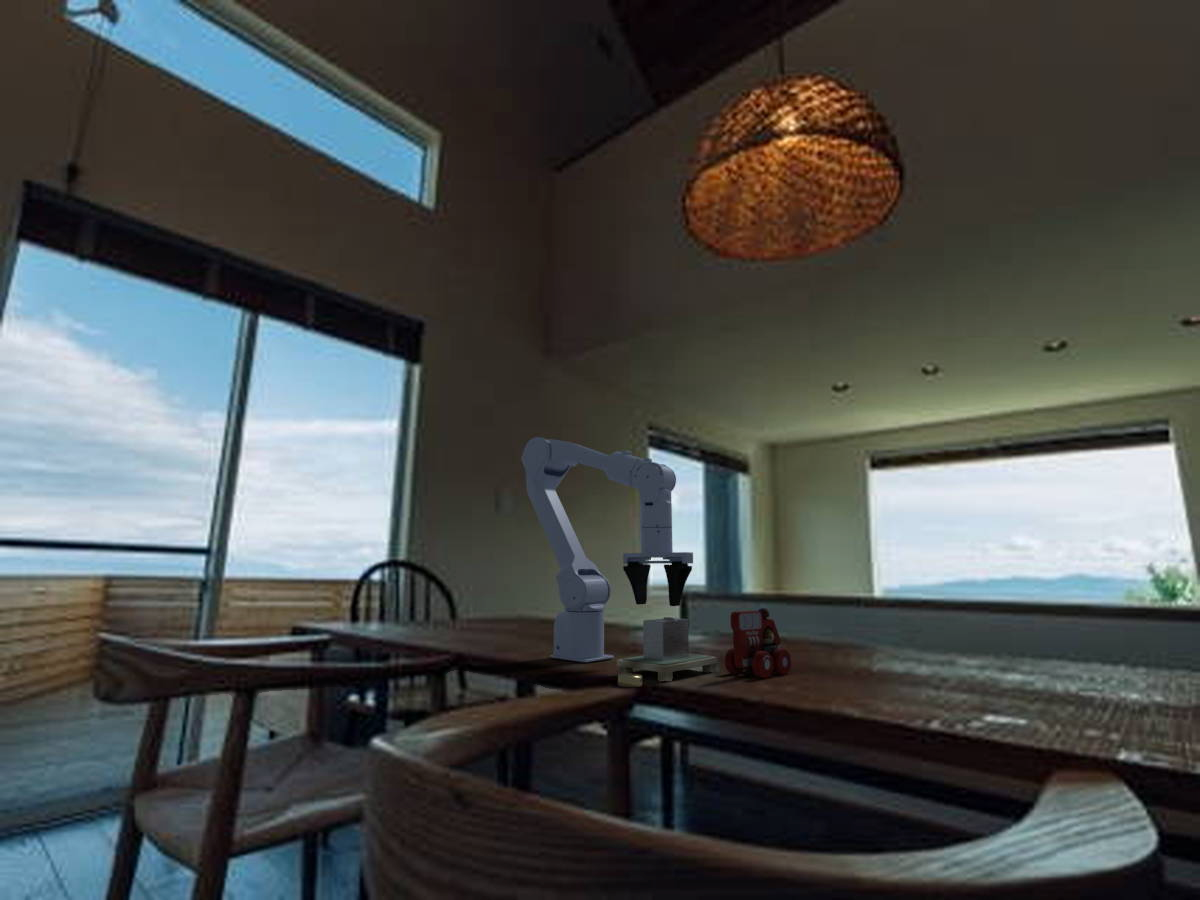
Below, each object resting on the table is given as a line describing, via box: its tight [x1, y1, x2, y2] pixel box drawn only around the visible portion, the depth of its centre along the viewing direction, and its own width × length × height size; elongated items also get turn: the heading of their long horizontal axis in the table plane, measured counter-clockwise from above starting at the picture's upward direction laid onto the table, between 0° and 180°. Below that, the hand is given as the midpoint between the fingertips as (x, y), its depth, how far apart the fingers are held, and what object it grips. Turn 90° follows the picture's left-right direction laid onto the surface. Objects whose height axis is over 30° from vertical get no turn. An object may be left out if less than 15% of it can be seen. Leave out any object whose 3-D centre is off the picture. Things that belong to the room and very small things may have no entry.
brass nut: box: [617, 673, 643, 688], centre depth 96 cm, size 4×4×2 cm
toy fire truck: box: [724, 607, 792, 679], centre depth 107 cm, size 7×12×10 cm, turn 132°
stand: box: [616, 652, 718, 681], centre depth 106 cm, size 10×14×2 cm
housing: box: [642, 616, 690, 661], centre depth 107 cm, size 4×7×6 cm, turn 138°
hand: (657, 605), depth 116 cm, fingers open, 7 cm apart
